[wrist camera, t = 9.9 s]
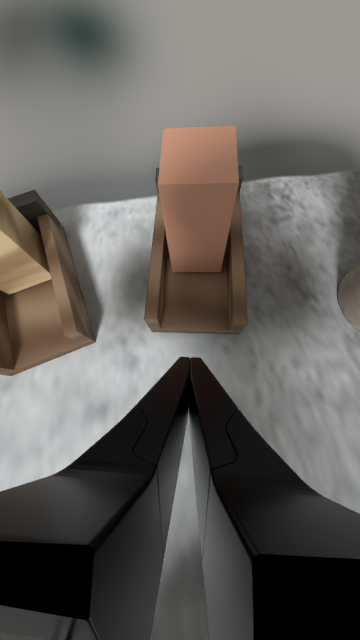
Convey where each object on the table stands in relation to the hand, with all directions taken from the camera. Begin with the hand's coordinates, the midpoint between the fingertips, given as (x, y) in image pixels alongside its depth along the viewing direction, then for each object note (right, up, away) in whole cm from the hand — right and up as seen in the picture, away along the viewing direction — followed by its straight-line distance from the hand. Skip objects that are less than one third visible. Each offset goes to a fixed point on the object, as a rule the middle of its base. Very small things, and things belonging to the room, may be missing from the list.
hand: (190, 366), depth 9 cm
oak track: (-15, +5, +14) cm, 21 cm away
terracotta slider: (+1, +9, +13) cm, 16 cm away
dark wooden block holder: (+1, +8, +14) cm, 16 cm away
